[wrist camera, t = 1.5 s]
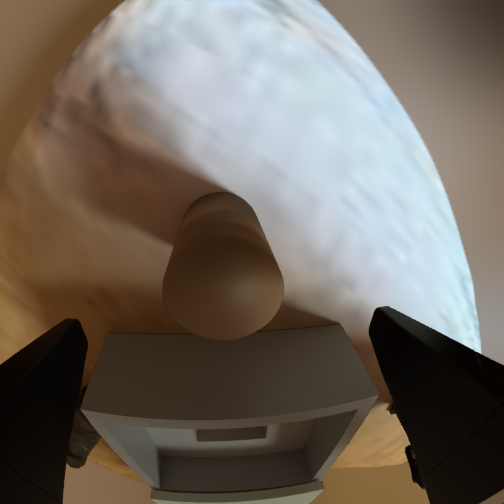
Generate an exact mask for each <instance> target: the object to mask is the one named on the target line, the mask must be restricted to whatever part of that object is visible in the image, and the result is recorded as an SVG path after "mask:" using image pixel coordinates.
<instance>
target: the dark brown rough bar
mask: <svg viewBox="0 0 504 504" xmlns="http://www.w3.org/2000/svg"><path fill="white" fill-rule="evenodd" d="M87 387H88V386H86V387H84V388H83V389H82V390H81V393H80V395H79V398H78V402H77V407H76V411H75V416H74V420H73V426H72V431H71V436H70V442H69V448H68V455H67V464H68V465H69V466H70V467H73V468H80V467H81V466H83V465H84V464H85V463H86V460H87V456H88V455H89V453H90V452H91V451H92V449H93V448H94V447H95V445H96V444H97V443H98V441H99V440H100V438H101V435H100V434H99V433H98V432H97V431H96V429H95V428H94V427H93V426H92V424H91V423H90V422H89V420H88V419H87V418H86V416H85V415H84V414H83V412H82V411H81V410H80V408H81V405H82V402H83V399H84V396H85V393H86V390H87Z"/></svg>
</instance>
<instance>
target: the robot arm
mask: <svg viewBox="0 0 504 504" xmlns="http://www.w3.org/2000/svg"><path fill="white" fill-rule="evenodd" d="M369 336H370V339H371V342H372V345H373V348H374V351H375V354H376V357H377V360H378V363H379V367H380V369H381V372H382V375H383V377H384V380H385V382H386V384H387V387H388V389H389V391H390V394H391V396H392V399H393V401H394V403H395V404H394V405H393V407H392V408H391V410H390V411H389V412H390V414H391V415H392V414H395V413H396V415H397V417H398V419H399V421H400V423H401V425H402V427H403V429H404V430H405V432H406V434H407V436H408V439H409V442H410V444H411V445H408V446H407V447H405V450H406V451H405V453H406V456H407V459H408V462H409V465H410V468H411V474H412V480H413V482H414V483H418V484H419V486H420V487H421V488H422V489H426V492H427V495H428V499H429V502H430V504H504V365H502V364H500V363H498V362H496V361H494V360H491V359H490V358H488V357H485V356H484V355H482V354H480V353H478V352H475V351H474V350H472V349H470V348H468V347H467V346H465V345H463V344H461V343H459V342H457V341H455V340H453V339H451V338H449V337H447V336H445V335H444V334H442V333H440V332H438V331H436V330H434V329H432V328H430V327H428V326H426V325H424V324H422V323H420V322H418V321H416V320H414V319H412V318H410V317H409V316H407V315H405V314H403V313H401V312H399V311H397V310H395V309H393V308H391V307H389V306H383V307H378V308H376V309H375V311H374V314H373V317H372V320H371V323H370V326H369ZM87 348H88V342H87V338H86V336H85V333H84V331H83V328H82V326H81V323H80V321H79V320H77V319H71V318H67V319H65V320H63V321H62V322H60V323H59V324H57V325H56V326H54V327H53V328H51V329H50V330H48V331H47V332H46V333H44V334H43V335H41V336H40V337H38V338H37V339H35V340H34V341H33V342H31V343H30V344H28V345H27V346H26V347H24V348H23V349H21V350H20V351H19V352H17V353H16V354H14V355H13V356H12V357H10V358H9V359H7V360H6V361H5V362H3V363H2V364H1V365H0V504H63V489H64V479H65V470H66V462H67V455H68V448H69V442H70V436H71V431H72V426H73V420H74V416H75V411H76V407H77V402H78V398H79V394H80V389H81V384H82V377H83V371H84V365H85V359H86V354H87Z"/></svg>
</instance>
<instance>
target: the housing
mask: <svg viewBox="0 0 504 504" xmlns="http://www.w3.org/2000/svg"><path fill="white" fill-rule="evenodd" d="M378 397H379V393H378V391H377V389H376V387H375V385H374V383H373V382H372V380H371V378H370V376H369V374H368V372H367V370H366V369H365V367H364V365H363V363H362V361H361V359H360V358H359V356H358V354H357V352H356V350H355V349H354V347H353V345H352V343H351V341H350V340H349V338H348V336H347V334H346V333H345V331H344V329H343V327H342V326H341V324H336V325H327V326H319V327H309V328H299V329H289V330H277V331H263V332H254V333H252V334H250V335H248V336H245V337H241V338H237V339H232V340H213V339H208V338H203V337H200V336H197V335H195V334H186V335H162V334H123V333H108V334H107V336H106V339H105V341H104V344H103V346H102V349H101V351H100V354H99V356H98V359H97V362H96V364H95V367H94V370H93V372H92V375H91V378H90V381H89V384H88V387H87V390H86V393H85V396H84V399H83V402H82V405H81V408H80V410H81V411H82V412H83V414H84V415H85V416H86V418H87V419H88V420H89V422H90V423H91V424H92V426H93V427H94V428H95V429H96V431H97V432H98V433H99V434H100V435H101V437H102V438H103V439H104V440H105V441H106V442H107V444H108V445H109V446H110V447H111V448H112V449H113V450H114V452H115V453H116V454H117V455H118V456H119V457H120V458H121V459H122V460H123V461H124V462H125V463H126V464H127V465H128V466H129V467H130V468H131V469H132V470H133V471H134V472H135V473H136V474H137V475H138V476H139V477H140V478H141V479H142V480H143V481H144V482H145V483H146V484H147V485H148V486H150V487H151V488H152V489H153V490H155V491H165V492H178V493H238V492H252V491H262V490H270V489H278V488H284V487H291V486H296V485H302V484H307V483H312V482H316V481H320V479H321V478H322V477H323V476H324V474H325V473H326V472H327V471H328V470H329V468H330V467H331V466H332V465H333V463H334V462H335V461H336V460H337V458H338V457H339V456H340V454H341V453H342V452H343V450H344V449H345V447H346V446H347V445H348V443H349V442H350V440H351V439H352V438H353V436H354V435H355V433H356V432H357V430H358V429H359V427H360V426H361V424H362V423H363V421H364V420H365V418H366V416H367V415H368V413H369V412H370V410H371V408H372V407H373V405H374V403H375V402H376V400H377V398H378Z"/></svg>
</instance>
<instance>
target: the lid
mask: <svg viewBox="0 0 504 504" xmlns="http://www.w3.org/2000/svg"><path fill="white" fill-rule="evenodd" d="M324 489H325V488H324V485H323V481H318V482H314V483H309V484H304V485H299V486H293V487H287V488H281V489H274V490H266V491H256V492H245V493H227V494H190V493H172V492H161V491H151V500H153V501H154V502H156V503H157V504H309V503H310V502H311V501H312V500H313V499H314V498H316V496H318V495H319V494H320V493H321V492H322V491H323V490H324Z"/></svg>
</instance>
